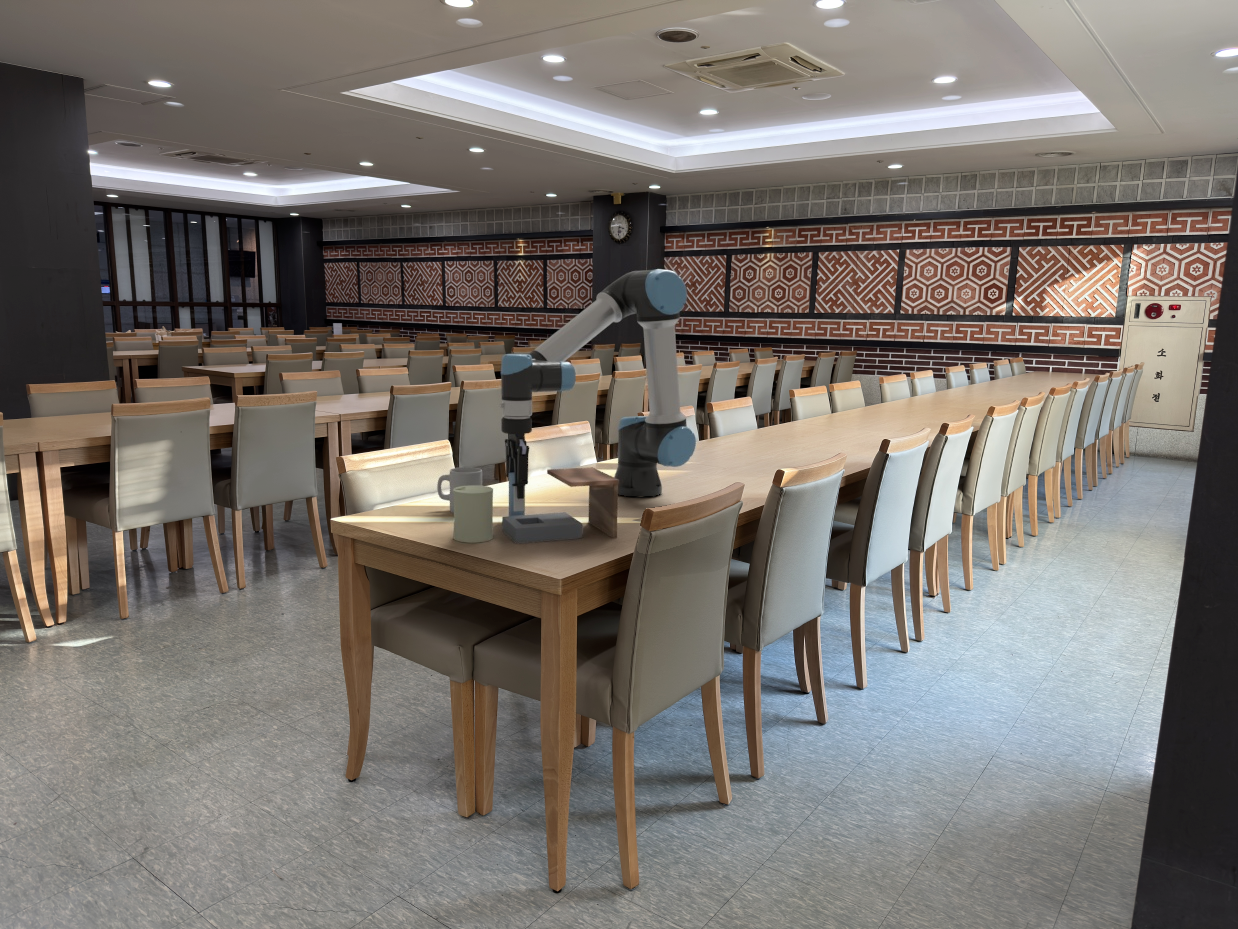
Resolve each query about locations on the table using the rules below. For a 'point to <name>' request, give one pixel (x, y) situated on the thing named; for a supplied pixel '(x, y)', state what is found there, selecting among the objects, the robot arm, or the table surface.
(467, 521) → the can
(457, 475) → the mug
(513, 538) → the socket
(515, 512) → the peg
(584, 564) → the table surface
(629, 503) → the table surface
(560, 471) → the wooden l-bracket
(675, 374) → the robot arm
